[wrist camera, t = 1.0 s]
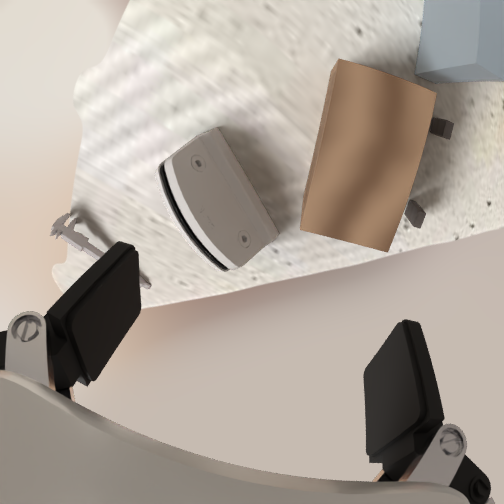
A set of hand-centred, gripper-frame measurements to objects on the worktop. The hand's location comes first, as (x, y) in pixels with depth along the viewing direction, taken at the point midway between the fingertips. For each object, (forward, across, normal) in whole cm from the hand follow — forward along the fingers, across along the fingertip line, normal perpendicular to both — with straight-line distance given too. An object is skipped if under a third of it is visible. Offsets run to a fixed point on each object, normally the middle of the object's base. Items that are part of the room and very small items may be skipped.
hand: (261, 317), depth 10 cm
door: (+28, -12, -21) cm, 37 cm away
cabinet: (+28, -9, -3) cm, 29 cm away
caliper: (+28, +28, +22) cm, 45 cm away
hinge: (+28, +8, +8) cm, 30 cm away
